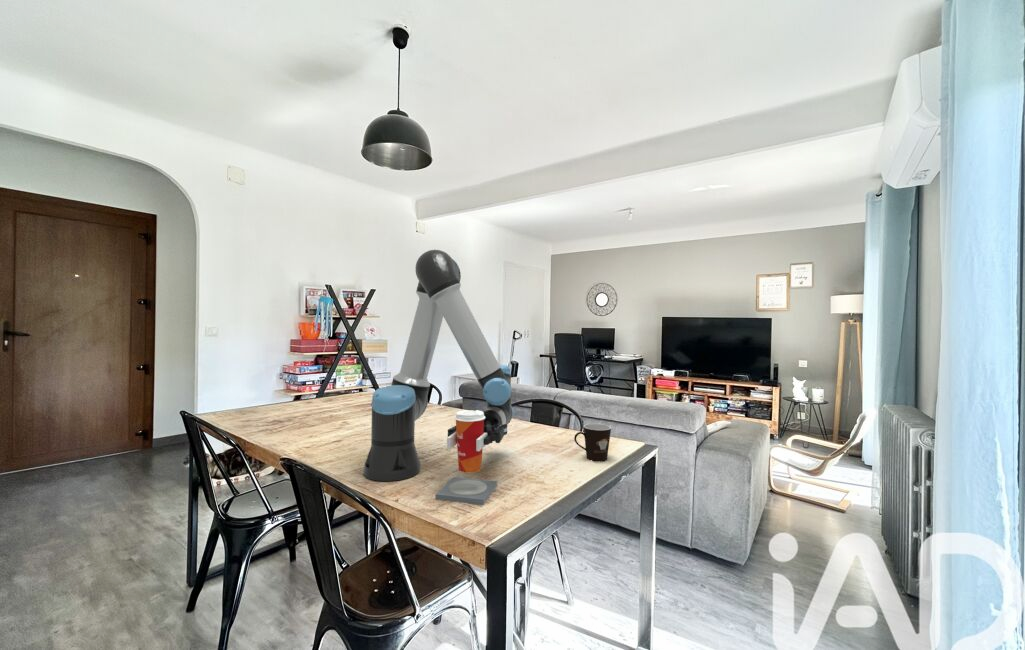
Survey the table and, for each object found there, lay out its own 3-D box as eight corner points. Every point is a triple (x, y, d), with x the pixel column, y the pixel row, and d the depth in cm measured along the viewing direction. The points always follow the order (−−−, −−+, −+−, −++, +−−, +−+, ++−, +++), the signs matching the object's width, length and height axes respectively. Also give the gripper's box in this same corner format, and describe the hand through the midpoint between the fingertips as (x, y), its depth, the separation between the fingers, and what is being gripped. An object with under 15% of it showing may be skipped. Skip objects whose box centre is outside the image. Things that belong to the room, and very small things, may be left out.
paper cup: (457, 463, 107) (457, 409, 107) (486, 463, 107) (486, 409, 107) (451, 474, 100) (451, 415, 100) (483, 474, 99) (483, 416, 99)
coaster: (435, 499, 99) (435, 493, 99) (453, 481, 110) (453, 476, 110) (483, 505, 96) (483, 499, 96) (497, 485, 108) (497, 480, 108)
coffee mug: (608, 454, 136) (609, 424, 136) (612, 463, 127) (612, 430, 127) (572, 453, 137) (573, 422, 137) (574, 461, 128) (574, 429, 128)
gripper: (523, 437, 119) (503, 463, 96) (458, 433, 123) (424, 457, 101) (523, 411, 119) (503, 431, 96) (458, 408, 123) (424, 426, 101)
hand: (463, 444), depth 98 cm, fingers closed on paper cup, 7 cm apart
